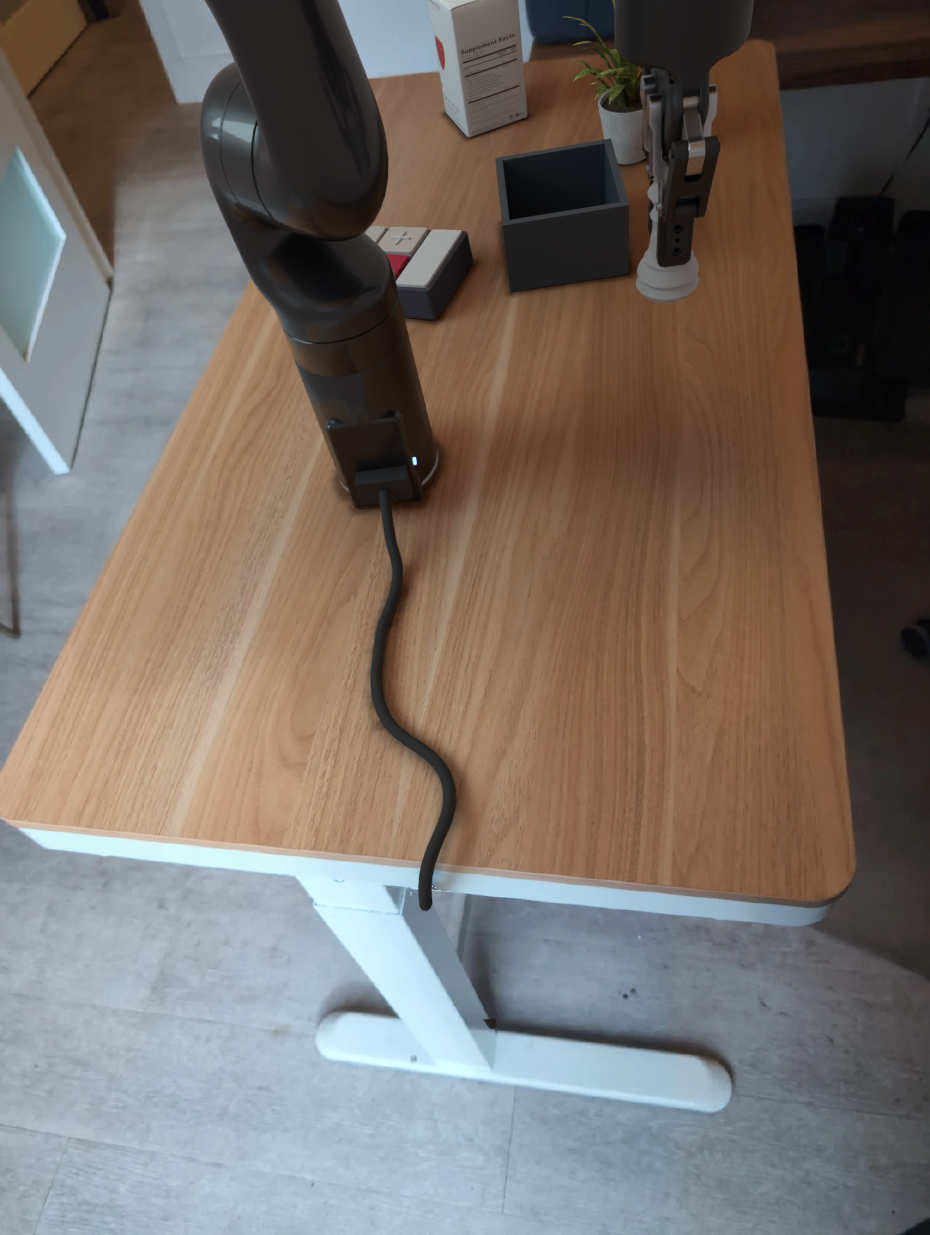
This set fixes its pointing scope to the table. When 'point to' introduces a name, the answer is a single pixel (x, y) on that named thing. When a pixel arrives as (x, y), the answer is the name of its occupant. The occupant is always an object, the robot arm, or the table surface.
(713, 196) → the table surface
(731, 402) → the table surface
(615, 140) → the house plant
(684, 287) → the rook chess piece
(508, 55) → the white product box
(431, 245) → the calculator
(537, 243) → the bin
